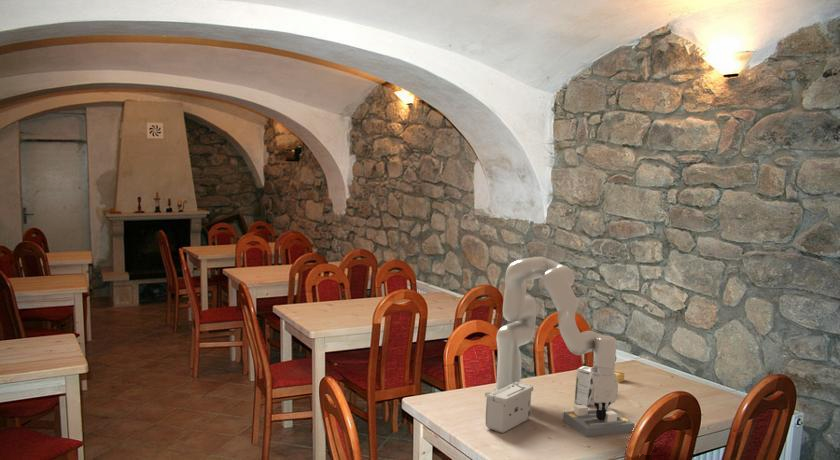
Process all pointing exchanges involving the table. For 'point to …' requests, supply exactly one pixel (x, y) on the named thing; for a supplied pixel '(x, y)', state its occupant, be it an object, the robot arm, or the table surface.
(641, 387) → the table surface
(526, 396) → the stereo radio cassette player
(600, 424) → the switch panel
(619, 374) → the rubber stamp
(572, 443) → the table surface
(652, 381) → the table surface
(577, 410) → the back tab
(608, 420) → the front tab
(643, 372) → the table surface
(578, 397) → the syrup box
